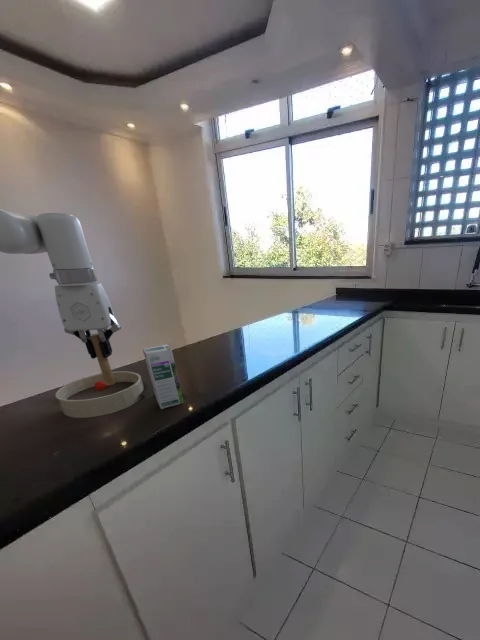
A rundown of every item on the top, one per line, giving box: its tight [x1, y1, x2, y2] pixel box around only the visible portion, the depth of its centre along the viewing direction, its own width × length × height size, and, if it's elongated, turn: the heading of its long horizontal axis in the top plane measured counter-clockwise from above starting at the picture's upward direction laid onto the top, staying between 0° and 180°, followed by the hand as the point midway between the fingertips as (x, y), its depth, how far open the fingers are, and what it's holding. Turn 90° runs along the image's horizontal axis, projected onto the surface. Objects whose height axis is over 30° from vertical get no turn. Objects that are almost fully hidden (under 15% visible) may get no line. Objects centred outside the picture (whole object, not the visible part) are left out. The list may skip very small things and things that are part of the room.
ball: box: [93, 381, 108, 392], centre depth 86 cm, size 3×3×3 cm
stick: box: [90, 332, 116, 386], centre depth 78 cm, size 2×2×13 cm
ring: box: [55, 370, 145, 419], centre depth 81 cm, size 19×19×4 cm
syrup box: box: [142, 344, 185, 410], centre depth 76 cm, size 6×6×14 cm
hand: (101, 355), depth 77 cm, fingers closed on stick, 2 cm apart
